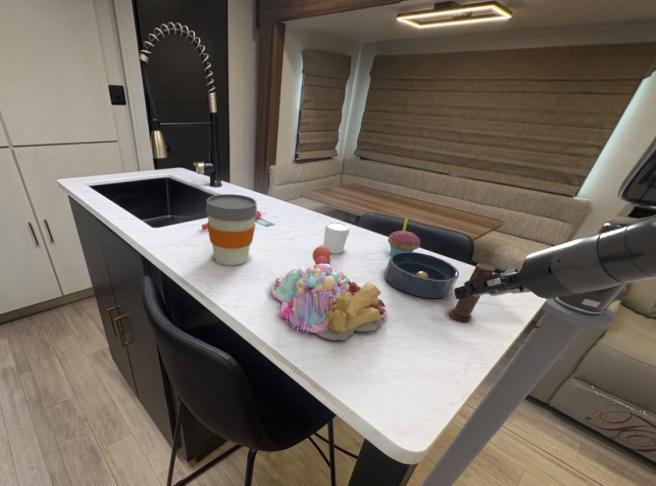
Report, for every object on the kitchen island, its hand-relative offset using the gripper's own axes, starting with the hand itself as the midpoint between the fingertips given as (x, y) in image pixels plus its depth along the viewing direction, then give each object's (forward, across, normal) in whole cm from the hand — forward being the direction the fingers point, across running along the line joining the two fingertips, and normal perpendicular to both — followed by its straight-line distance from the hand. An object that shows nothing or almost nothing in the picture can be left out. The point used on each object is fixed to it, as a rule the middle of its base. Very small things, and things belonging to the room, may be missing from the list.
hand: (474, 292), depth 59 cm
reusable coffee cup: (+30, +42, -20) cm, 55 cm away
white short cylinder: (+32, +11, -21) cm, 39 cm away
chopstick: (+43, +36, -39) cm, 69 cm away
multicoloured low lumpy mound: (+13, +26, -2) cm, 29 cm away
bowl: (+16, -2, -6) cm, 17 cm away
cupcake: (+27, -8, -17) cm, 33 cm away
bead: (+14, -2, -7) cm, 16 cm away
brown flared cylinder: (+6, -2, +4) cm, 8 cm away
